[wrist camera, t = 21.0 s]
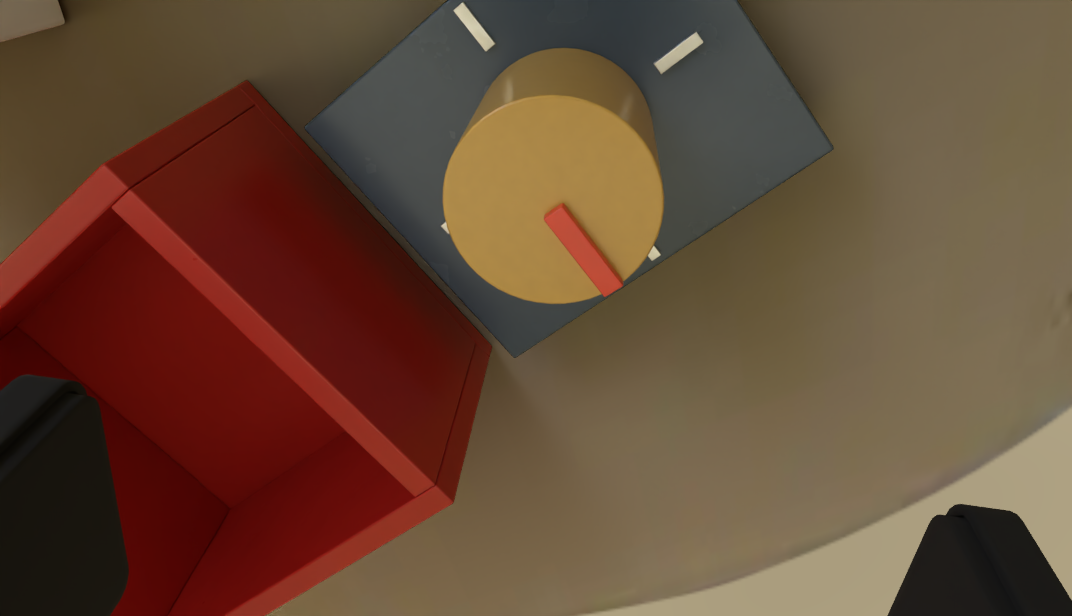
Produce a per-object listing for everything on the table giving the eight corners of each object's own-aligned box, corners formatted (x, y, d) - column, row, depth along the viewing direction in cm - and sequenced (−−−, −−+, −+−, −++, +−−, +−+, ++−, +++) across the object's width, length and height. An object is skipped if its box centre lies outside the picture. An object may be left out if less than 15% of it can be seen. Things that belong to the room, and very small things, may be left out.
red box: (247, 79, 27) (102, 162, 19) (492, 346, 31) (454, 503, 24) (1, 311, 32) (-191, 451, 25) (240, 515, 36) (140, 690, 29)
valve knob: (439, 119, 24) (393, 186, 19) (584, 7, 22) (577, 48, 17) (545, 252, 26) (530, 346, 21) (687, 158, 24) (709, 236, 19)
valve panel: (628, -159, 23) (630, -163, 20) (813, 121, 26) (836, 151, 24) (332, 103, 27) (300, 129, 25) (522, 317, 31) (513, 362, 28)
